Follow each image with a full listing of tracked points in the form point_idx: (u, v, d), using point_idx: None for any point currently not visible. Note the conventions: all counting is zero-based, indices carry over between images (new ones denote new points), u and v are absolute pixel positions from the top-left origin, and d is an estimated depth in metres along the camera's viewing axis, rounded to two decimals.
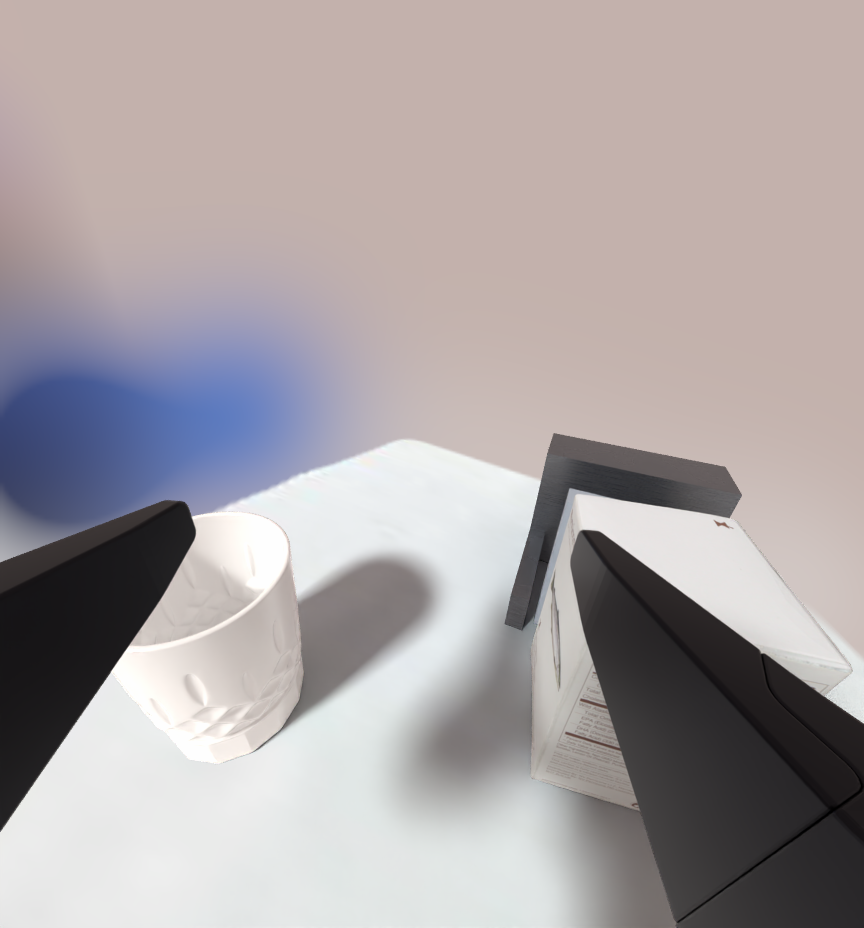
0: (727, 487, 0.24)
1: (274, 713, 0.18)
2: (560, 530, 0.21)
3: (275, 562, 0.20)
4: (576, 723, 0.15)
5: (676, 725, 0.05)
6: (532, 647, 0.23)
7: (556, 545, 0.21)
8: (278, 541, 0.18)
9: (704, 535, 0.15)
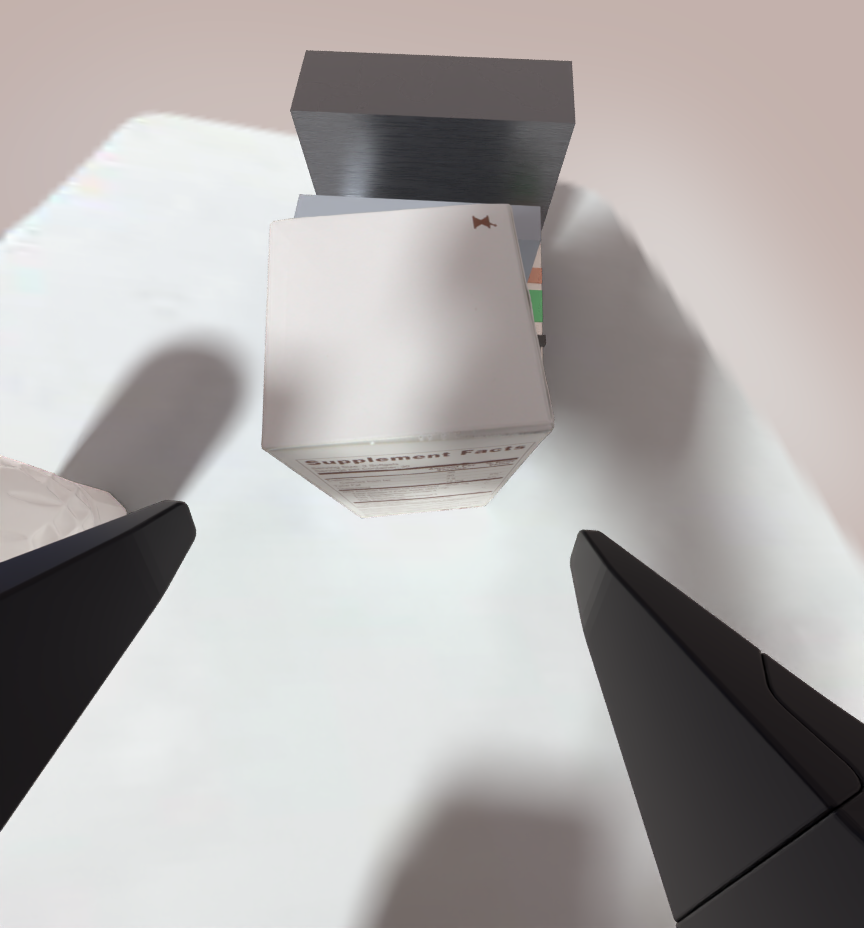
0: (559, 111, 0.15)
1: None
2: None
3: None
4: (355, 498, 0.15)
5: (676, 725, 0.05)
6: None
7: None
8: None
9: (446, 256, 0.10)
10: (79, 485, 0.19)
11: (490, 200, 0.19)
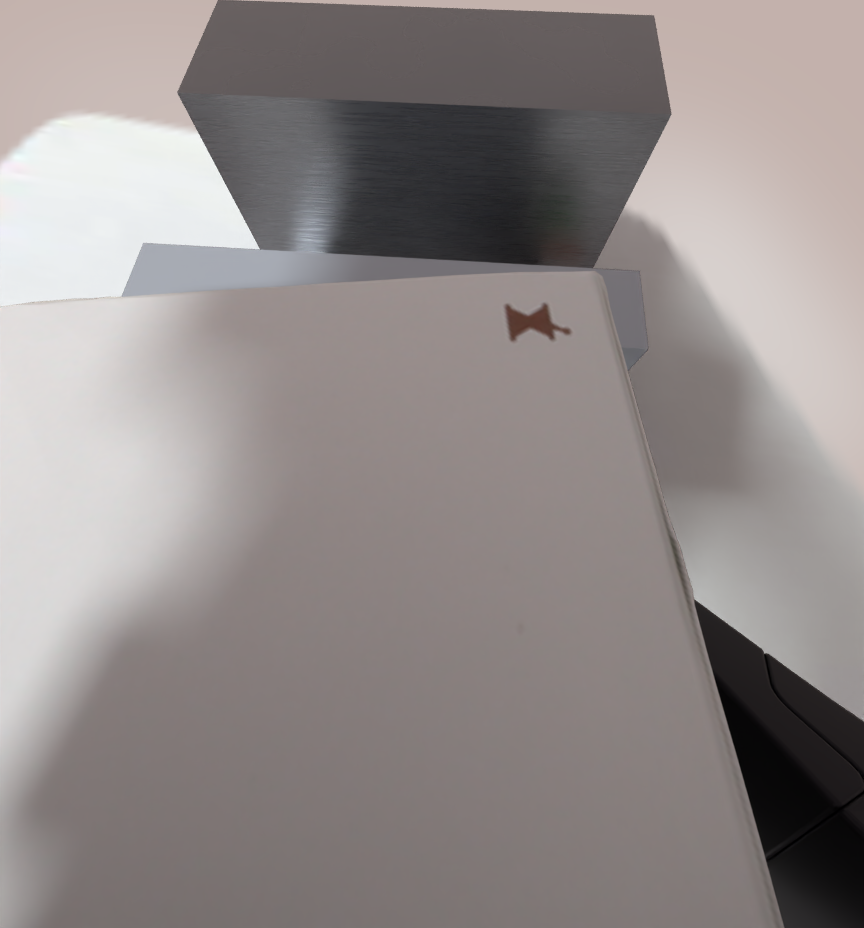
0: (641, 94, 0.09)
1: None
2: None
3: None
4: None
5: None
6: None
7: None
8: None
9: (433, 427, 0.03)
10: None
11: (513, 237, 0.12)
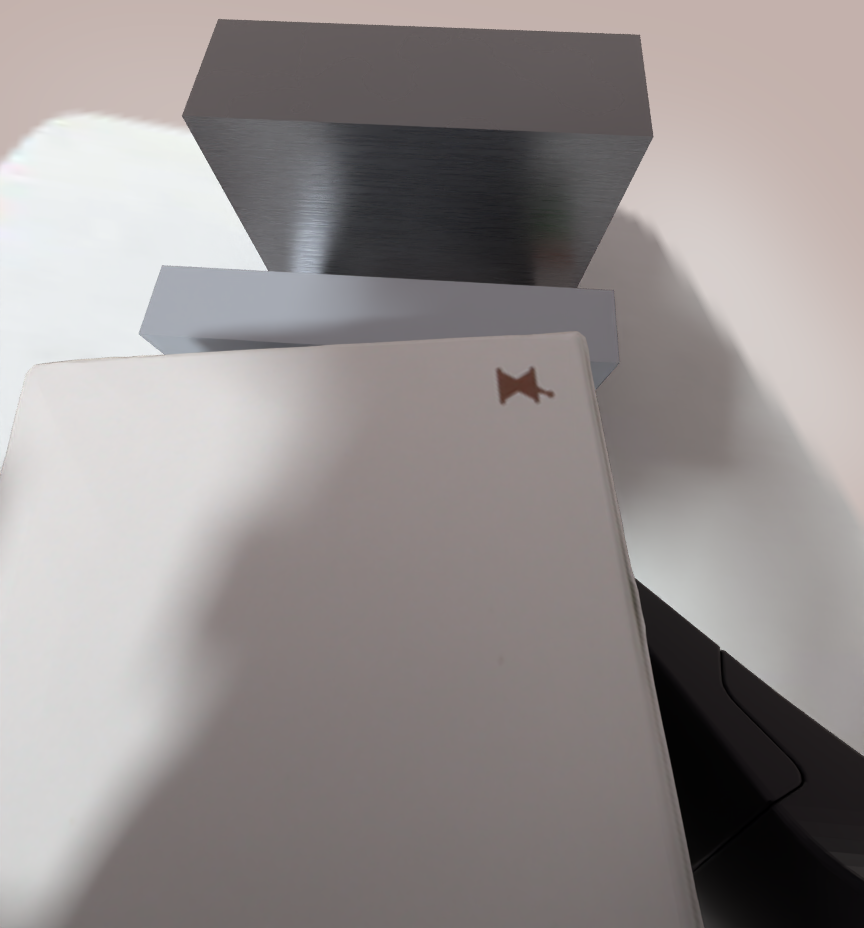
0: (625, 116, 0.09)
1: None
2: None
3: None
4: None
5: None
6: None
7: None
8: None
9: (431, 485, 0.04)
10: None
11: (505, 247, 0.12)
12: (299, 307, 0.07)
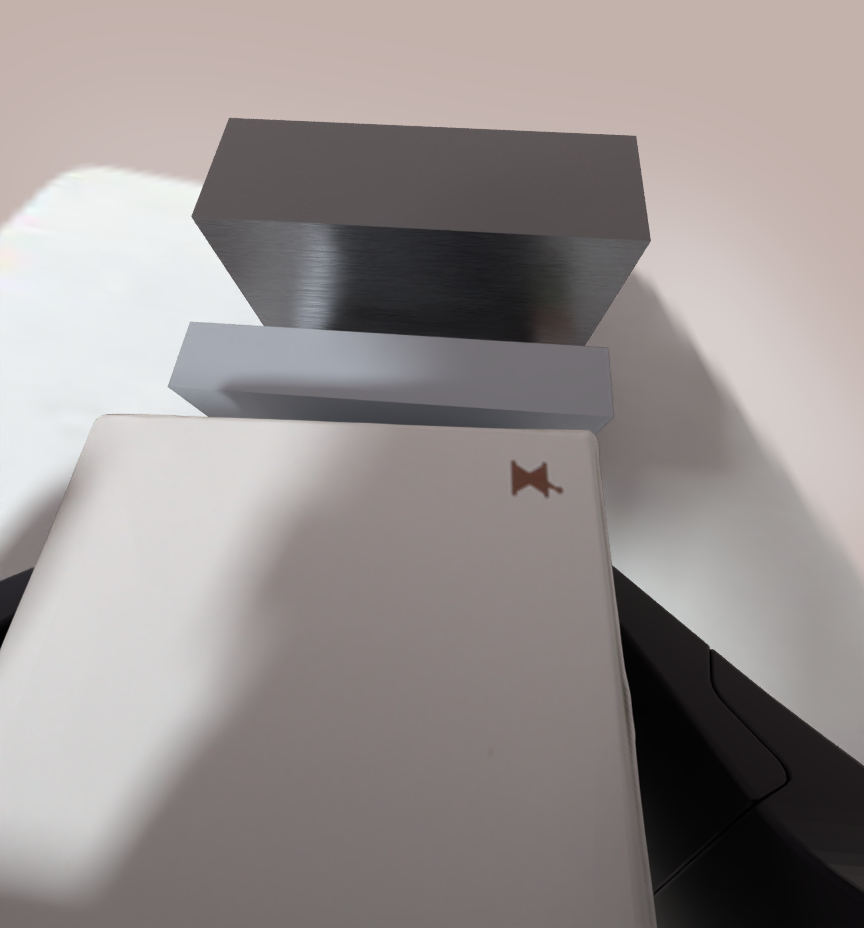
0: (623, 220, 0.10)
1: None
2: None
3: None
4: None
5: None
6: None
7: None
8: None
9: (440, 567, 0.04)
10: None
11: (506, 324, 0.13)
12: (316, 362, 0.07)
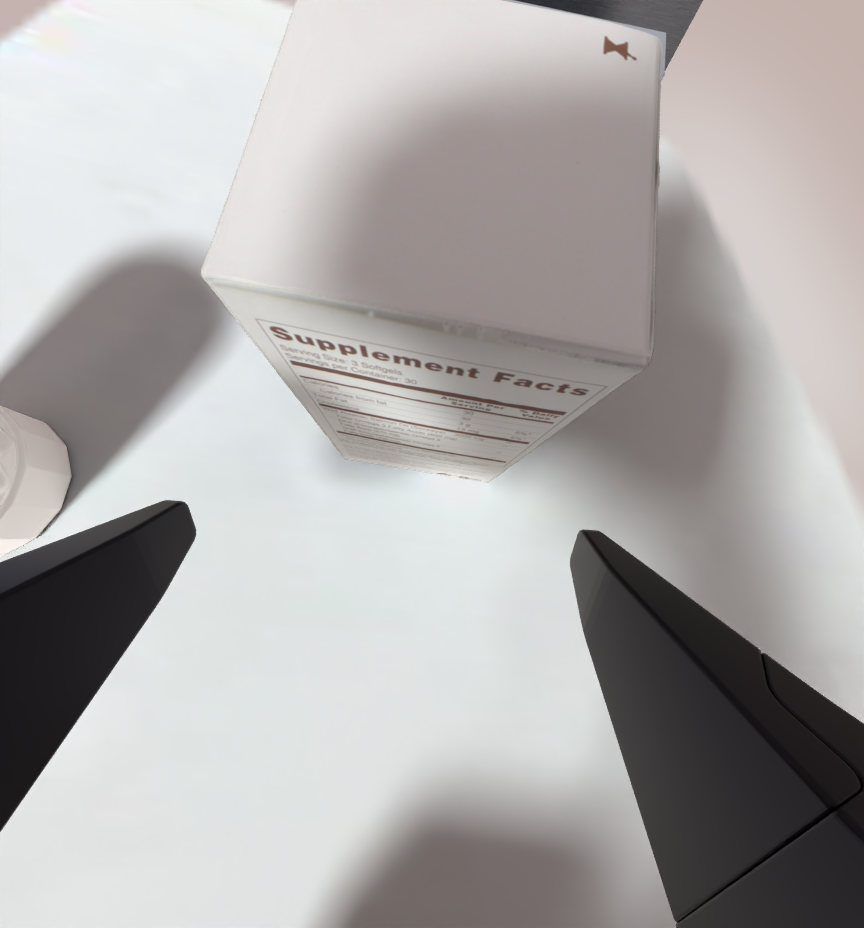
0: None
1: (19, 508, 0.14)
2: None
3: None
4: (338, 424, 0.12)
5: (676, 725, 0.05)
6: None
7: None
8: None
9: (553, 79, 0.07)
10: (3, 409, 0.15)
11: None
12: None
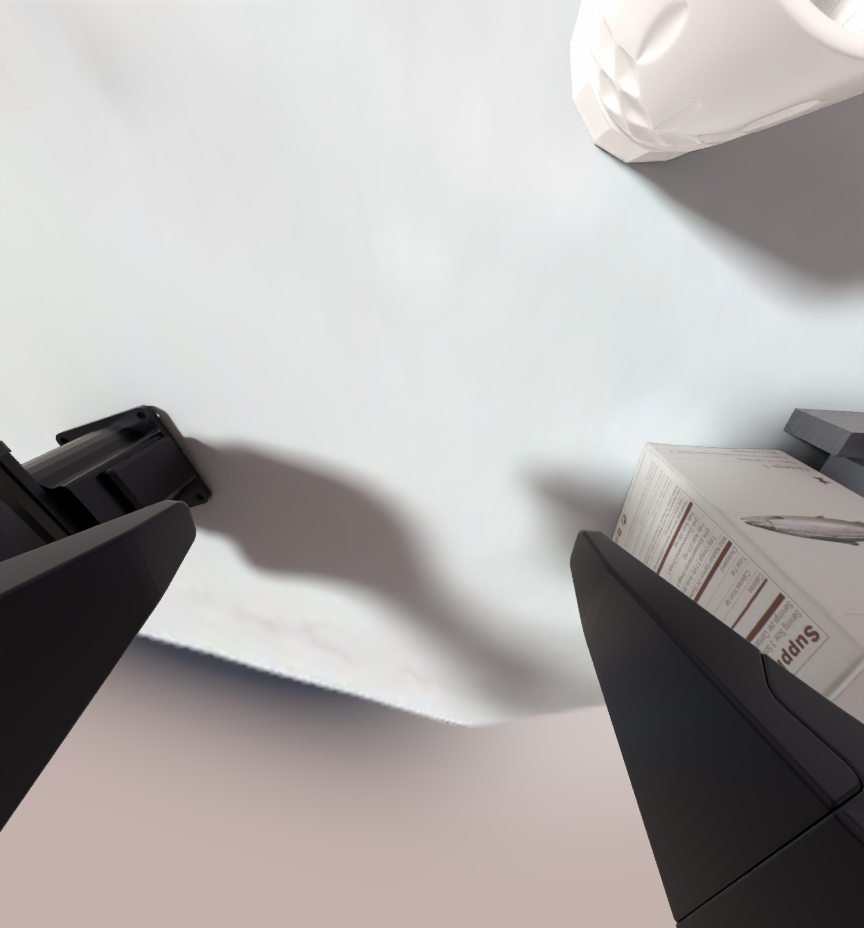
0: None
1: (642, 151, 0.13)
2: None
3: None
4: (701, 519, 0.15)
5: (676, 725, 0.05)
6: (782, 455, 0.19)
7: None
8: None
9: None
10: None
11: None
12: None
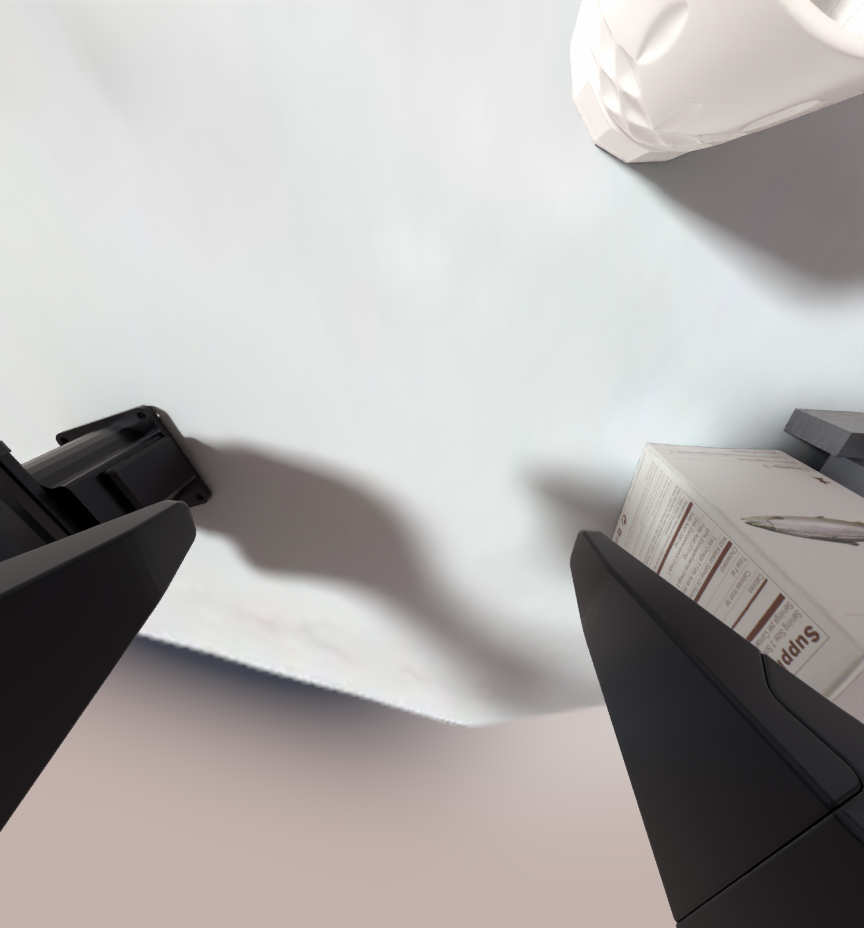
0: None
1: (642, 152, 0.13)
2: None
3: None
4: (701, 519, 0.15)
5: (676, 725, 0.05)
6: (783, 455, 0.19)
7: None
8: None
9: None
10: None
11: None
12: None
